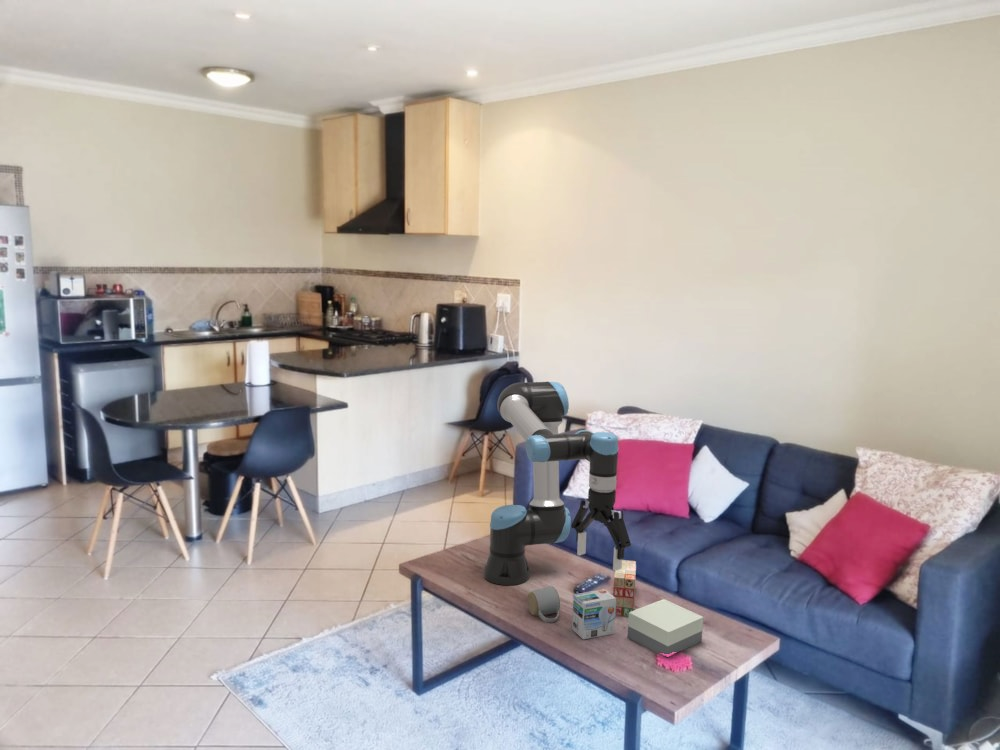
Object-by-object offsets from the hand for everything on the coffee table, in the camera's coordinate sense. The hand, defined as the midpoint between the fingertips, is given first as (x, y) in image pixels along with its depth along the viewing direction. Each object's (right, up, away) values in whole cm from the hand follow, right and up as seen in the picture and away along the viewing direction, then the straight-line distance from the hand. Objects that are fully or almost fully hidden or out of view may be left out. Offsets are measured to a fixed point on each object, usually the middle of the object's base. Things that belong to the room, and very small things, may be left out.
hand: (598, 561), depth 210 cm
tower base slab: (+18, -22, -1) cm, 29 cm away
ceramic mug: (-14, -19, +12) cm, 27 cm away
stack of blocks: (+11, -18, +23) cm, 31 cm away
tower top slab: (+18, -18, -2) cm, 26 cm away
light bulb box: (-1, -21, +3) cm, 21 cm away
